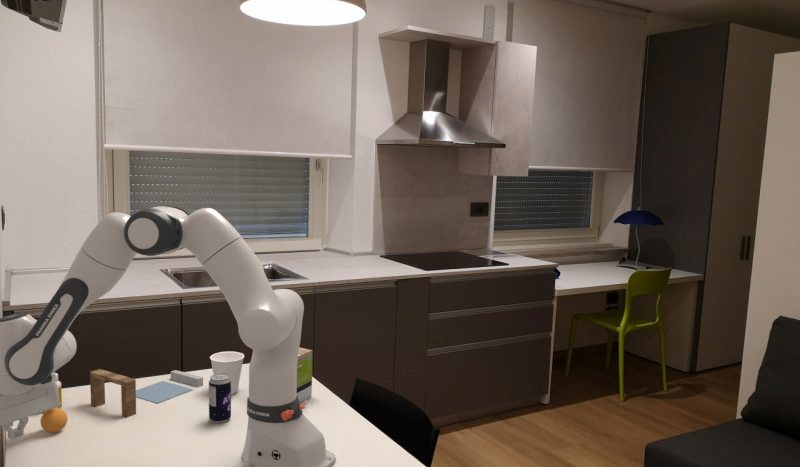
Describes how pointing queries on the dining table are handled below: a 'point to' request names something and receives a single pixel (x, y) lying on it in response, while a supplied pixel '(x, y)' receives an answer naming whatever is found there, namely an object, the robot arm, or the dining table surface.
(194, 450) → the dining table surface
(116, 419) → the dining table surface
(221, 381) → the beverage can
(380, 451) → the dining table surface
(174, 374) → the grey rectangular bar
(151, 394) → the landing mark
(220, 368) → the cup
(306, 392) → the tea box
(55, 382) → the supplement bottle
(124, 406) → the bridge
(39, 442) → the dining table surface
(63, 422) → the ball
